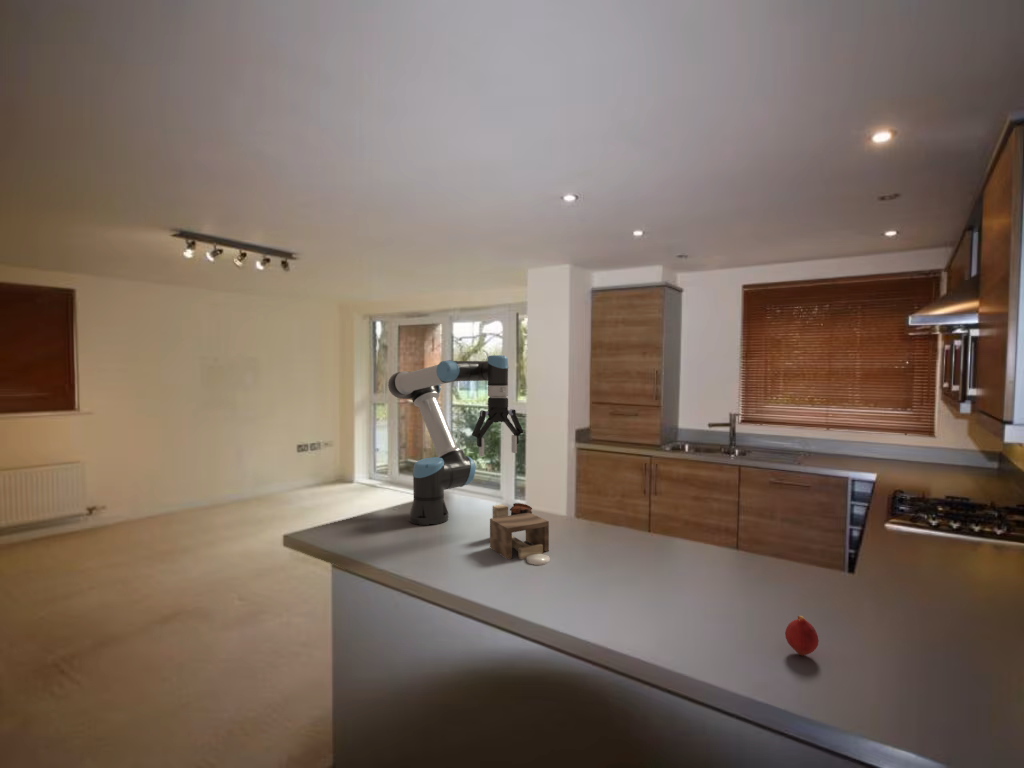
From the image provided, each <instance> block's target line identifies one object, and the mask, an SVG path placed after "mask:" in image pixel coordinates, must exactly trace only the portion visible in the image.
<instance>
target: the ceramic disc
mask: <svg viewBox="0 0 1024 768" xmlns="http://www.w3.org/2000/svg"><path fill="white" fill-rule="evenodd" d="M550 560H551V558H550V556H549V555H547V554H544V553H543V554H531V555H529V556H527V558H526V562H527V563H528V564H530V565H533V564H534V565H533V566H543V564H544V565H548V564H549V563H550V562H551V561H550Z"/></svg>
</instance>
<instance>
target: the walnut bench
mask: <svg viewBox="0 0 1024 768" xmlns="http://www.w3.org/2000/svg"><path fill="white" fill-rule="evenodd" d="M549 524H550V521H549V520H546V519H545V518H542V517H541V516H538V515H536V514H533V512H532V513H523V514H517V515H511V514H510V515H508V516H504V517H498V518H493V517H492V518H491V517H490V518H489V548H490V547H491V548H492V549H491V548H490V549H491V550H493V549H494V550H495V553H497V552H498V553H497V554H498V555H500V554H501V555H500V556H502V557H503V556H504V557H503V558H505V559H506V558H507V559H506V560H511V559H512V558H513V547H512V536H513V533H517V532H522V531H525V542H527V543H528V542H529V544H530V543H531V544H530V545H531V546H532V545H537V544H541V545H543V552H544V551H546V552H549V551H550V542H549V541H550V532H549V531H550V525H549ZM494 550H493V551H494Z"/></svg>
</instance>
